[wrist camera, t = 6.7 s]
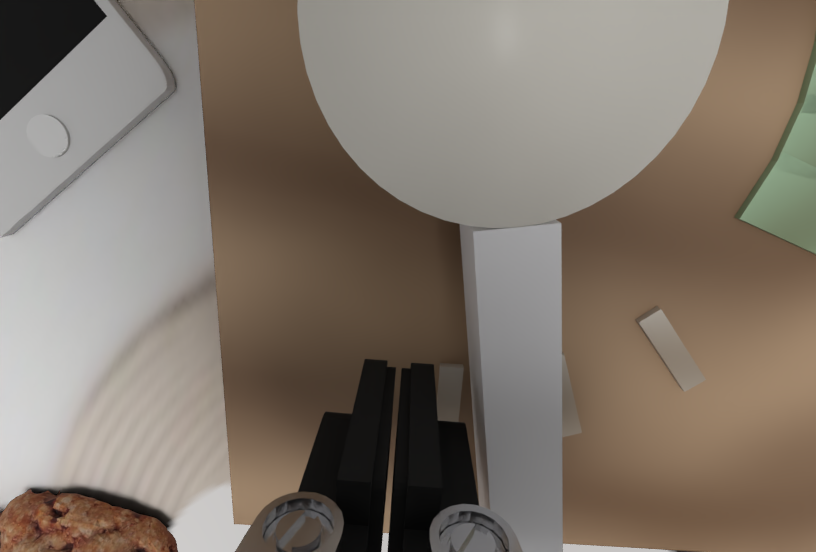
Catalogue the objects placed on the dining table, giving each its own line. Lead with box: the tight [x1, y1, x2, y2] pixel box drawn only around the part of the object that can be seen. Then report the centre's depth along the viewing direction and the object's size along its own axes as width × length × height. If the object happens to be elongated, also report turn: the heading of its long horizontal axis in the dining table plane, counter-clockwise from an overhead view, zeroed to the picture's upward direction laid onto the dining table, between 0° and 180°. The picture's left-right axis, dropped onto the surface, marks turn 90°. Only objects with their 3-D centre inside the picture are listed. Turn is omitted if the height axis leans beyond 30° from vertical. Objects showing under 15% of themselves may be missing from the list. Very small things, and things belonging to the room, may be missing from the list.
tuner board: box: [194, 0, 816, 552], centre depth 12 cm, size 20×18×2 cm
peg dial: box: [297, 0, 729, 552], centre depth 9 cm, size 15×6×3 cm, turn 6°
